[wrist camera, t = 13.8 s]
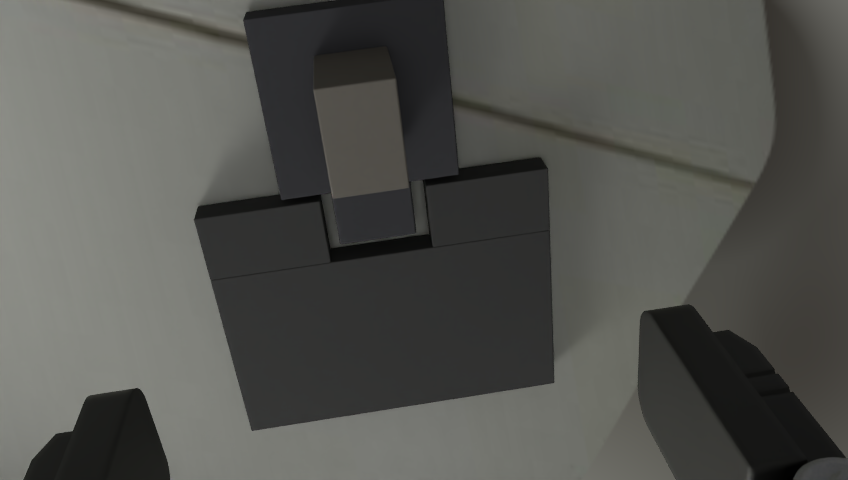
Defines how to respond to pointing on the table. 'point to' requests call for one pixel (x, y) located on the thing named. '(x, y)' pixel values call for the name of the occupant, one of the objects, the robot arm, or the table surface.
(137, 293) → the table surface
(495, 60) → the table surface
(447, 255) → the base pad
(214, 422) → the table surface
